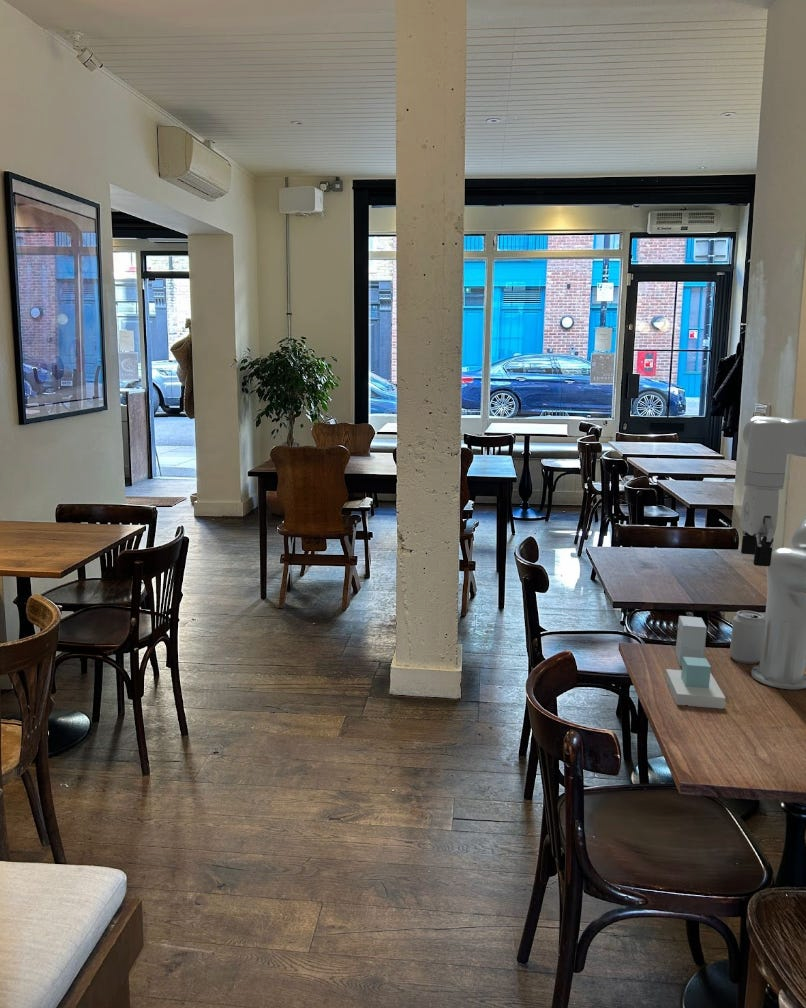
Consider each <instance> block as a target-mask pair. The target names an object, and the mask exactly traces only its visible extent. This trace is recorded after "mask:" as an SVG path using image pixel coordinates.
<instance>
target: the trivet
mask: <svg viewBox="0 0 806 1008" xmlns="http://www.w3.org/2000/svg"><path fill="white" fill-rule="evenodd" d="M681 671H682V669H680V670H679V669H669V668H668V669H667V668H666V669H665V676H664V680H665V683H666V685H667V687H668V689H669V692H670V693H671V697H672V699H673V698H674V699H673V700H674V702H675V705H676V706H685V705H688V706H690V707H699V708H708V709H709V708H710V709H720V710H721V709H725V707H726V706H725V705H726V696H725V695H724V693H723V691H722V689H721V688H720V686H719V684H718V683H717V681H716V679H715V677H714V676H713V674H712V673H711V672H710V682H709V688H700V687H687V686H685V685H684V683H683V681H682V679H681Z"/></svg>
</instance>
